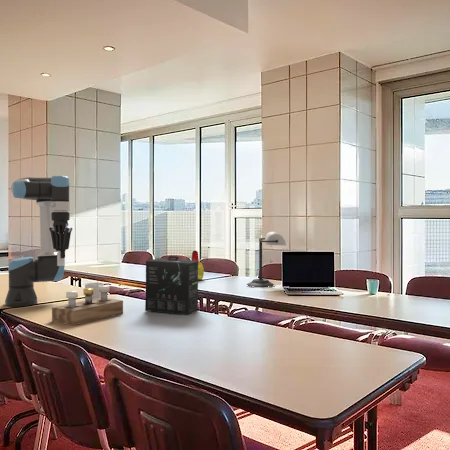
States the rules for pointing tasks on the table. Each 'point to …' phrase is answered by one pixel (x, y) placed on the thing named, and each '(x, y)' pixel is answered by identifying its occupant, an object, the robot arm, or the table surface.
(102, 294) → the knob far
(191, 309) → the headset box
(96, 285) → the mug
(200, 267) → the bottle
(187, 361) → the table surface
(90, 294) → the pot knob
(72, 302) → the knob near
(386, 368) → the table surface
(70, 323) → the mount
